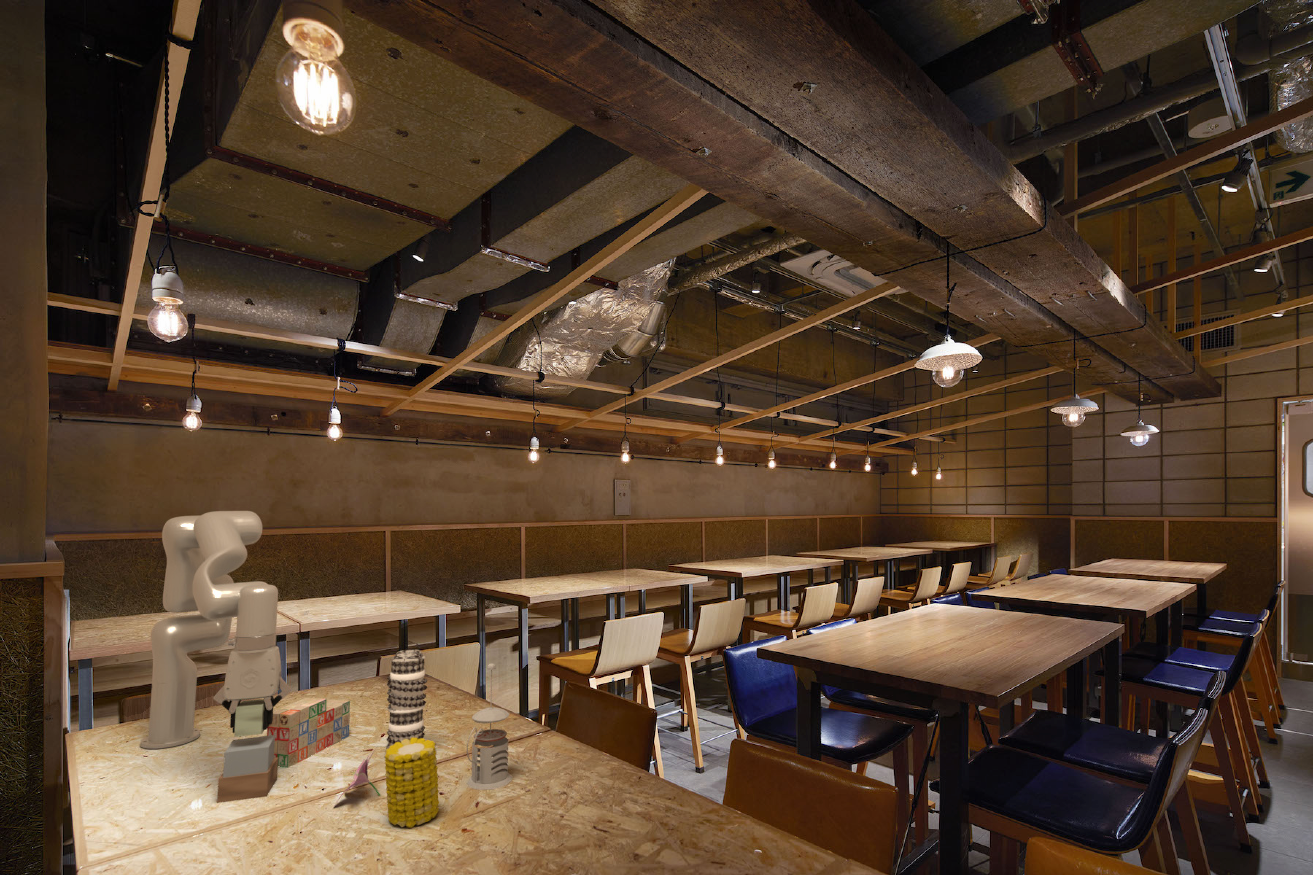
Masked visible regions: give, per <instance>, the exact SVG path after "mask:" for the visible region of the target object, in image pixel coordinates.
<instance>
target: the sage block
mask: <svg viewBox="0 0 1313 875" xmlns="http://www.w3.org/2000/svg"><path fill="white" fill-rule="evenodd" d="M265 707H266V706H265V702H264V698H258V699H246V700H241V703H240V704H239V705H238V706H237V707H236V716H235V733H233V734H234V738H236V737H237V738H238V737H248V736H256V735H257V736H258V735H262V734H263V733H264V731H265V730H263V715H264V711H265Z"/></svg>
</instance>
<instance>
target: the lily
mask: <svg viewBox="0 0 1313 875" xmlns="http://www.w3.org/2000/svg"><path fill="white" fill-rule="evenodd" d="M377 748H378V745H377V746H376V748H375V749H374V750H373V751H371V752H369V754H368V756H367V758H366V759H363V760H362V761H361V763H360V764H359V765H358V767H357V768H356V770H352V771H353V772H352V771H350V773H349V774H350V775H351V776H353V780H352V781H351V783H350V784H349V786H348V787H347V788H346V789H345V790H344V791H343V792H342V793H341V794H340V796H339V797H338V799H337V800H336V802H335V803H334V806H333V807H335V806H336V805H337V804H338V802H339V800H340V799H341V798H342V796H343V795H345V794H346V793H347V792H348V791H349V790H350V789H354V788H355V787H358V786H361V785H363V784H366V783H368V784H369V785H370V786H371V787H372V788H373V789H374V790H375V792H376V794H377V795H378V796H379V797H381V794H380V792H379V790H377V788H376V786H375V785H374V784H373V783H372V782H371V781H370V779H369V774H368V773H369V772H368V769H369V768H368V767H369V763H370V760H371V758H372V756H373V754H374V753H375V751H376V750H377ZM354 771H355V772H354Z"/></svg>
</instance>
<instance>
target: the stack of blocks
mask: <svg viewBox="0 0 1313 875" xmlns="http://www.w3.org/2000/svg"><path fill="white" fill-rule="evenodd" d="M350 703H351V700H343V699H328V700H327V698H316V697H314V698H312V697H304V698H302V699H299V700H298V701H294V702H292V703H289V704H288V705H285V706H283V707H280V708H278V709H275V710H273V721H272V724H270V725H269V727H268V728H267V729H266V736H270V735H275V745H274V758H277V757H278V766H280V767H279V768H291V767H292V766H294V765H296V764H298V763H301V762H302V761H304V760H306V759H308V758H311V757H312V756H314V755H316V754H318V753H320V752H322V751H323V750H325V749H327V748H329V747H331V746H332V745H335V744H336V742H337V743H338V742H340V740H341V741H343V740H344V739H347V738H349V737H350V724H351V723H350V721H351V720H350V718H351V712H350V710H351V708H350V707H351V706H350V705H351V704H350ZM342 739H343V740H342ZM330 745H331V746H330ZM326 747H327V748H326ZM315 753H316V754H315ZM311 755H312V756H311Z"/></svg>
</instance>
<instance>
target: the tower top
mask: <svg viewBox="0 0 1313 875" xmlns="http://www.w3.org/2000/svg"><path fill="white" fill-rule="evenodd" d="M274 745H275V735H270V736H267V735H264V736H254V737H247V738H238V739H233V740H232V741H231V742H230V744H229V745H228V747H227V748H226V750H224V755H223V770H222V774H223V778H226V777H233V776H240V775H248V774H255V773H262V772H268V770H269V768H270V765H271V763H272V761H273V759H274Z"/></svg>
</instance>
